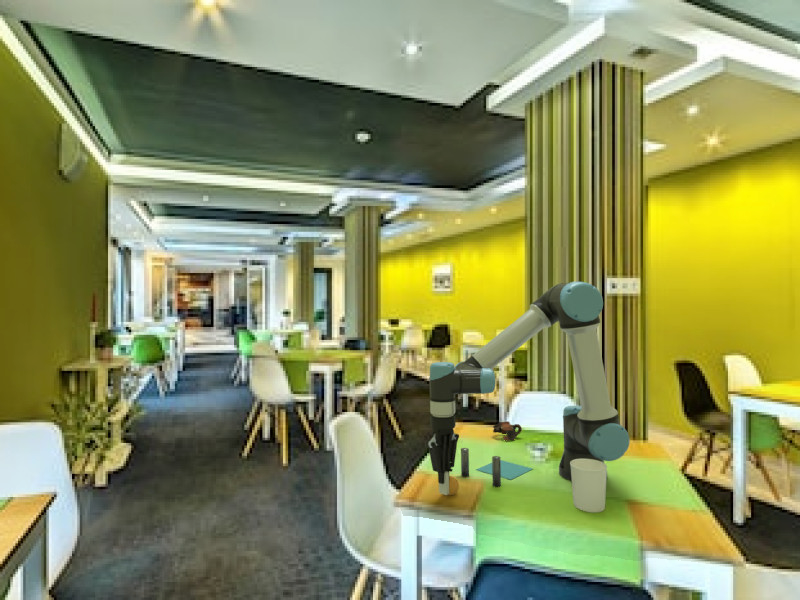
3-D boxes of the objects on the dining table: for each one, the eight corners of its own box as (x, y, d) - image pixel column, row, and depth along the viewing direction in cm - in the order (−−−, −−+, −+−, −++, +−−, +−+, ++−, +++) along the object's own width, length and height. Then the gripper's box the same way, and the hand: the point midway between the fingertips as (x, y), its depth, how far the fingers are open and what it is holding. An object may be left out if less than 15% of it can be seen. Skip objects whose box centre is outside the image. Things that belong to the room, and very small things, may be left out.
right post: (502, 485, 153) (502, 457, 153) (497, 487, 151) (497, 459, 151) (495, 483, 154) (495, 455, 154) (491, 485, 153) (490, 457, 153)
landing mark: (533, 469, 167) (533, 468, 167) (510, 480, 157) (510, 479, 157) (499, 460, 177) (499, 459, 177) (476, 469, 167) (476, 469, 167)
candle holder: (566, 499, 141) (565, 458, 141) (599, 499, 141) (599, 458, 141) (577, 514, 132) (576, 470, 132) (613, 513, 131) (612, 470, 131)
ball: (461, 496, 146) (463, 477, 147) (450, 498, 142) (451, 479, 143) (448, 491, 150) (449, 473, 151) (436, 493, 146) (437, 474, 147)
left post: (470, 475, 162) (470, 449, 162) (465, 477, 160) (465, 450, 160) (464, 473, 163) (464, 447, 164) (459, 475, 162) (459, 449, 162)
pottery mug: (498, 443, 199) (491, 424, 203) (497, 447, 207) (490, 428, 211) (525, 435, 199) (519, 416, 203) (523, 440, 207) (517, 421, 211)
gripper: (446, 409, 151) (447, 484, 151) (418, 416, 142) (420, 496, 142) (465, 412, 146) (467, 490, 146) (438, 420, 137) (440, 503, 136)
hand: (444, 493), depth 144 cm, fingers closed
